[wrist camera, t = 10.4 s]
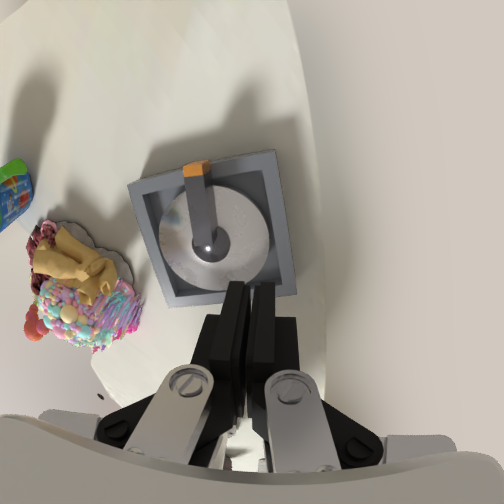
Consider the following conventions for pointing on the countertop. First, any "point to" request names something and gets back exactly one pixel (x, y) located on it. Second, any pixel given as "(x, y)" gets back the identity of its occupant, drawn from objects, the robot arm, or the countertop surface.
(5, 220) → the snack cup
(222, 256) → the dial
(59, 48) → the countertop surface
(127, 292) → the pastel sphere sculpture
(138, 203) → the housing
